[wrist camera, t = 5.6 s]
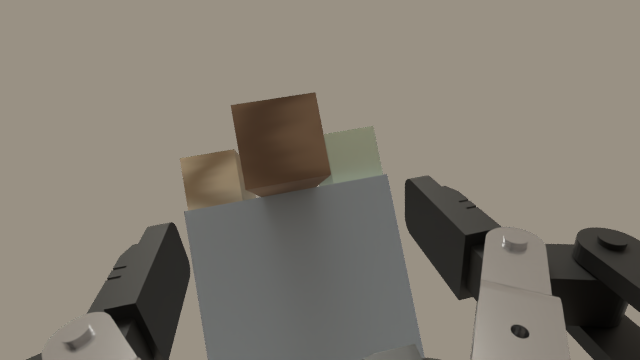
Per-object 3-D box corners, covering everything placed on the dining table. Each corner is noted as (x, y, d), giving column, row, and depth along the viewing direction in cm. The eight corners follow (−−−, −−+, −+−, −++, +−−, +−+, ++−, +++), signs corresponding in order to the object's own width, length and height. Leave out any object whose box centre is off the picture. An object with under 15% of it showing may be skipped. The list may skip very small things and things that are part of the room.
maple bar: (188, 211, 24) (179, 158, 25) (219, 210, 35) (213, 173, 36) (242, 201, 25) (233, 149, 25) (256, 203, 36) (250, 167, 36)
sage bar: (333, 184, 26) (323, 134, 26) (320, 191, 36) (313, 156, 37) (383, 175, 26) (373, 126, 26) (355, 185, 37) (348, 150, 37)
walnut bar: (245, 190, 15) (230, 105, 15) (271, 201, 37) (264, 166, 37) (331, 174, 16) (315, 92, 16) (306, 194, 37) (300, 160, 38)
